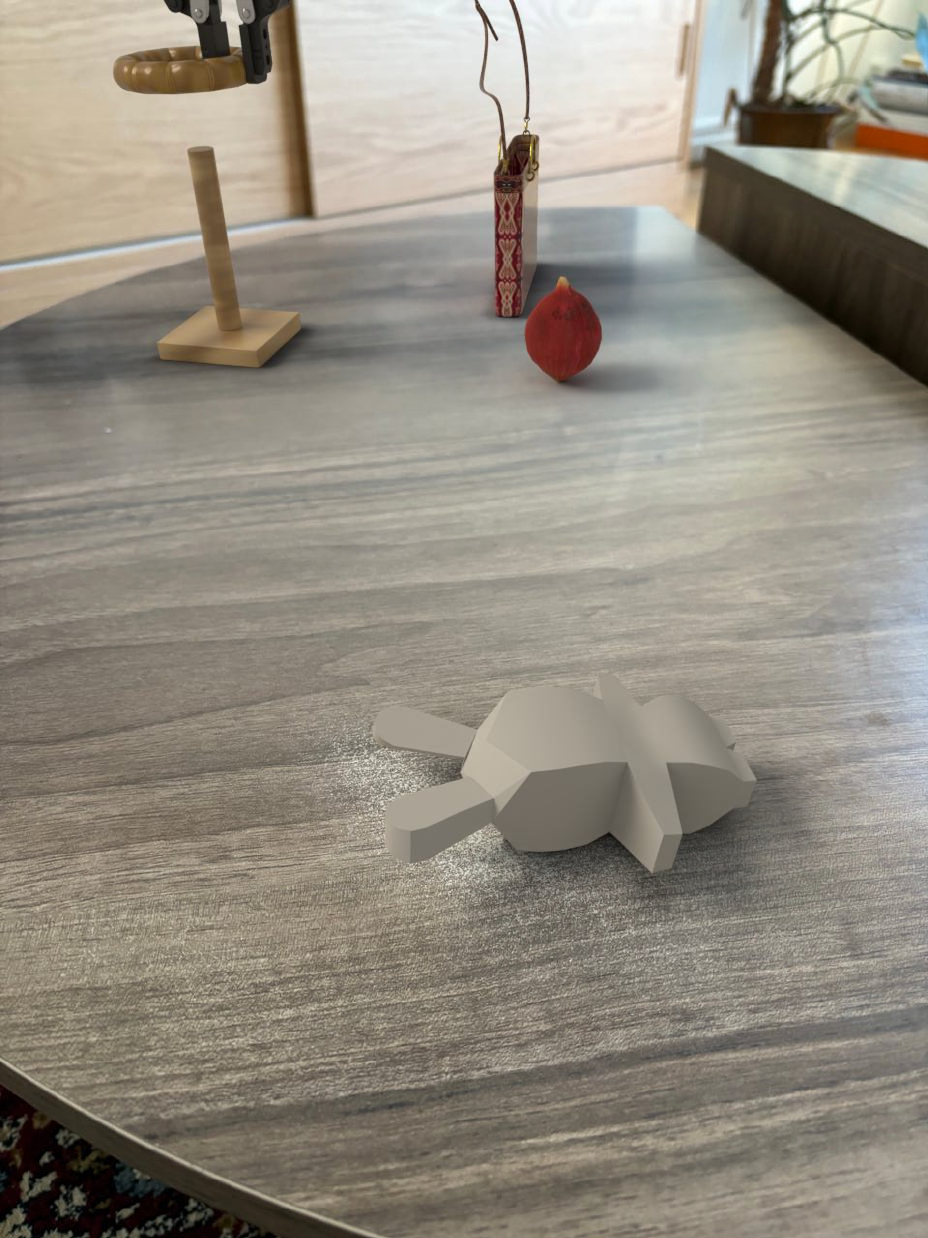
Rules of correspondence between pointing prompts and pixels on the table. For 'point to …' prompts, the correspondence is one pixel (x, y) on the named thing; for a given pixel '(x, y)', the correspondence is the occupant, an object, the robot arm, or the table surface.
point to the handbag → (514, 199)
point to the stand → (223, 293)
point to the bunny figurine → (569, 773)
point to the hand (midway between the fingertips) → (239, 80)
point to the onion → (563, 332)
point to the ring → (179, 71)
